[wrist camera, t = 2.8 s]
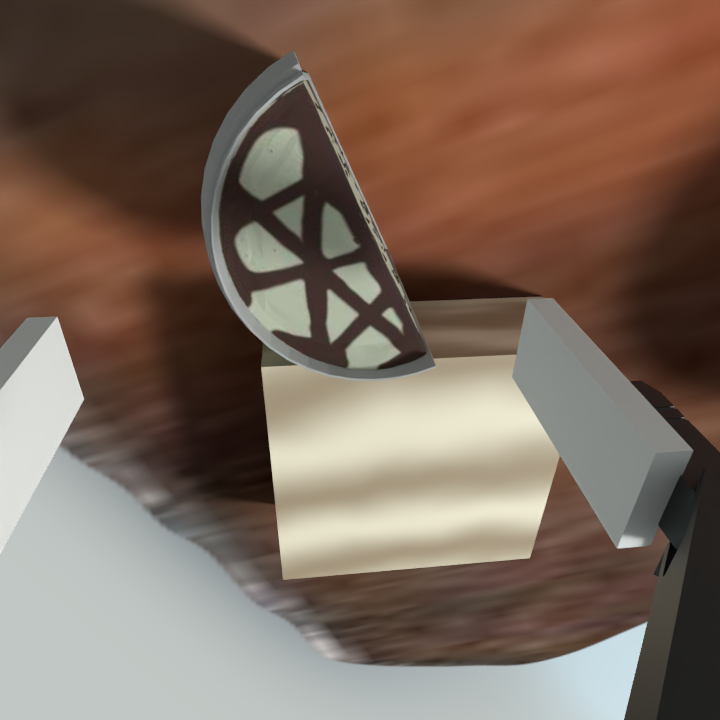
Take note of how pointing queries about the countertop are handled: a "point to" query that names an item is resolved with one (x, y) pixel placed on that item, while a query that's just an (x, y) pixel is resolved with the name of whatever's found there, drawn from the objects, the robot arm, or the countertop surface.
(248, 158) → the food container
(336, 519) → the ash block
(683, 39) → the countertop surface
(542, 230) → the countertop surface
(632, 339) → the countertop surface
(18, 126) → the countertop surface
